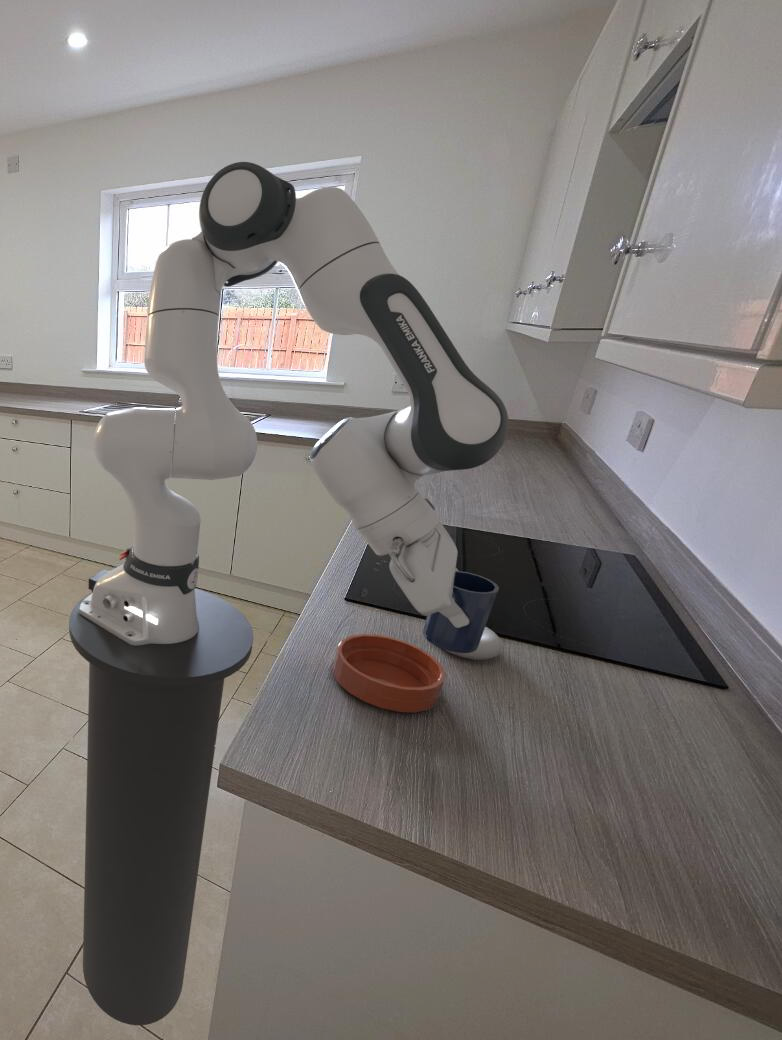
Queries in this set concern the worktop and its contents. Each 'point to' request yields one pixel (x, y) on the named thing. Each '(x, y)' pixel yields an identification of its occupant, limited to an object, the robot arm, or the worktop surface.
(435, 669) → the bowl
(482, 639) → the donut
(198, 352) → the robot arm
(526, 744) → the worktop surface
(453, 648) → the cup
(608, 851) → the worktop surface
